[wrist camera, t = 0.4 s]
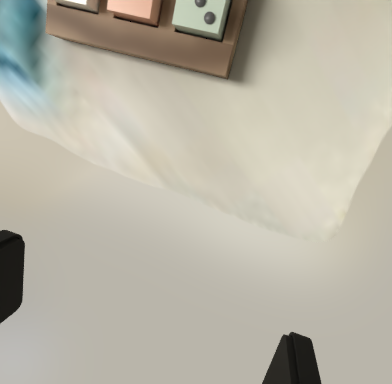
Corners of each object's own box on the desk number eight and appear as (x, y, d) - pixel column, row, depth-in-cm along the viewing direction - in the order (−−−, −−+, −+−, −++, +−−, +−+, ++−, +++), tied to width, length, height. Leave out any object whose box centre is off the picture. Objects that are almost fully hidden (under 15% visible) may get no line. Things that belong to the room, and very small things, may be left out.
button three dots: (189, -19, 30) (181, -34, 27) (234, -11, 29) (231, -25, 26) (179, 31, 32) (171, 23, 29) (221, 41, 31) (217, 33, 28)
